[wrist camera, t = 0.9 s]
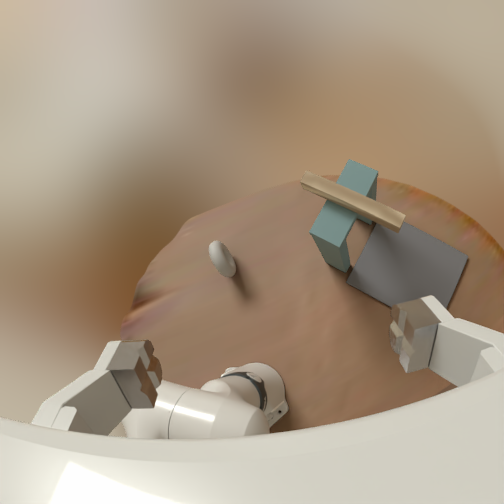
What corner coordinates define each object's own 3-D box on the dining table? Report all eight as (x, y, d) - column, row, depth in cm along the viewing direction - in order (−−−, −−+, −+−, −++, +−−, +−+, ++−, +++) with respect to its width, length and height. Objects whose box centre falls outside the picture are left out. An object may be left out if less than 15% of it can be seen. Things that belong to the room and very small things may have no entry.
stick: (398, 233, 49) (400, 227, 47) (303, 188, 57) (299, 181, 54) (403, 221, 50) (405, 215, 47) (309, 178, 57) (306, 170, 55)
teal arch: (346, 273, 74) (339, 247, 52) (325, 262, 77) (309, 232, 55) (375, 217, 75) (378, 171, 53) (354, 207, 77) (349, 159, 56)
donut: (243, 276, 83) (227, 269, 74) (231, 282, 84) (215, 275, 75) (229, 244, 87) (212, 233, 78) (218, 250, 87) (201, 240, 78)
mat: (434, 331, 63) (434, 331, 63) (346, 282, 74) (345, 282, 73) (467, 256, 64) (468, 256, 64) (382, 212, 75) (382, 211, 74)
